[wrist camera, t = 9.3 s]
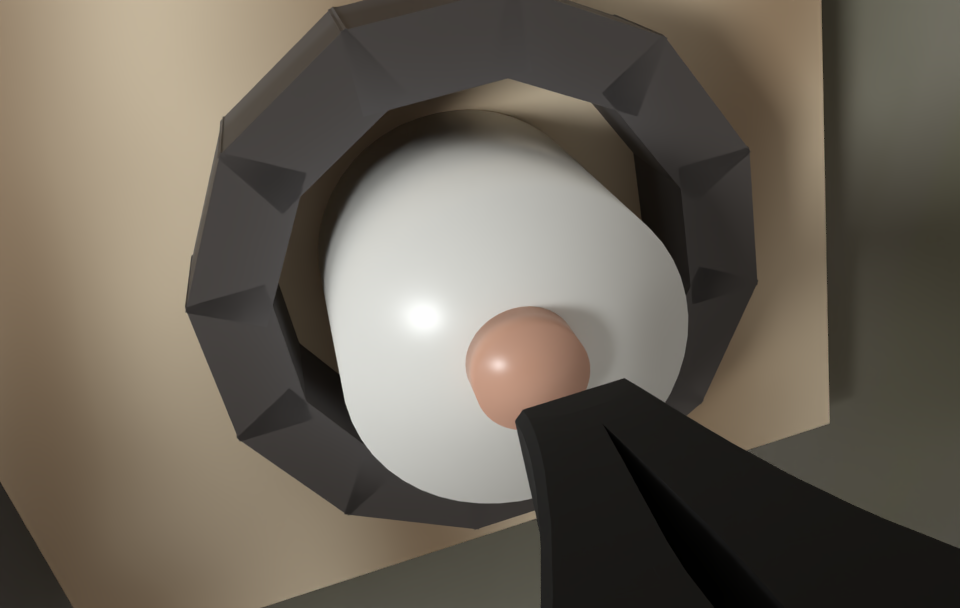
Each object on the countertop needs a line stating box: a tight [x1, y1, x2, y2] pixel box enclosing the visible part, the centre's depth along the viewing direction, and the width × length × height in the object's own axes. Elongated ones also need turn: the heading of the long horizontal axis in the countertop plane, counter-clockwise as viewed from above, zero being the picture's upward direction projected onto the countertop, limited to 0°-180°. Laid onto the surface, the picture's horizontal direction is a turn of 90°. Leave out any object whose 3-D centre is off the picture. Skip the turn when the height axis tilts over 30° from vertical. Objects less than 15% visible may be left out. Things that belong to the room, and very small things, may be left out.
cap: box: [318, 110, 688, 503], centre depth 14 cm, size 5×5×5 cm
